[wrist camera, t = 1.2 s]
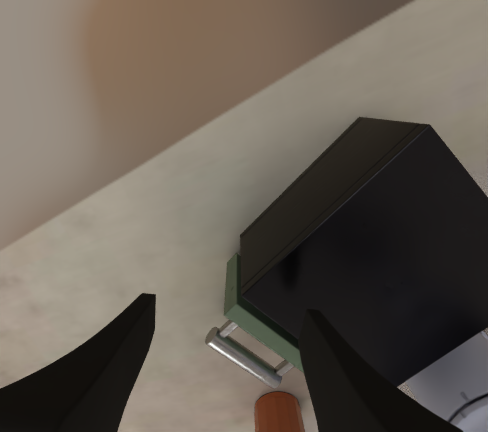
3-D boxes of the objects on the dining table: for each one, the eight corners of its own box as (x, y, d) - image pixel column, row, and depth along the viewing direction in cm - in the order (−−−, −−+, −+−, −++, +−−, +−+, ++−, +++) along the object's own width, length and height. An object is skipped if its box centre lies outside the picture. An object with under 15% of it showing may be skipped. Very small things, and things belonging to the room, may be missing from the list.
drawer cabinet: (338, 317, 27) (377, 400, 19) (239, 234, 23) (240, 296, 16) (454, 226, 23) (556, 283, 16) (359, 116, 20) (430, 123, 13)
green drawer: (282, 363, 27) (294, 434, 22) (189, 298, 24) (174, 359, 19) (424, 252, 23) (486, 302, 17) (334, 158, 20) (372, 180, 15)
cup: (308, 405, 31) (320, 454, 27) (276, 428, 32) (282, 478, 28) (277, 384, 30) (284, 431, 25) (244, 409, 31) (245, 458, 27)
